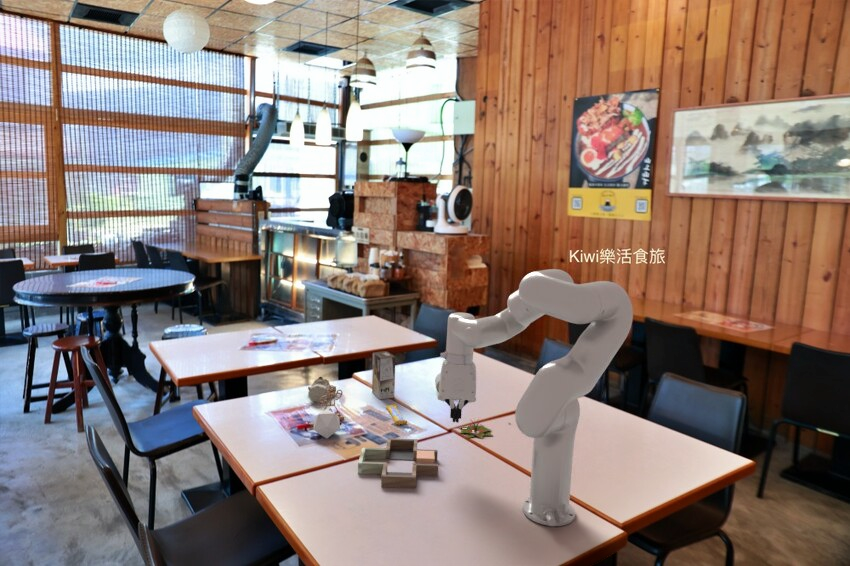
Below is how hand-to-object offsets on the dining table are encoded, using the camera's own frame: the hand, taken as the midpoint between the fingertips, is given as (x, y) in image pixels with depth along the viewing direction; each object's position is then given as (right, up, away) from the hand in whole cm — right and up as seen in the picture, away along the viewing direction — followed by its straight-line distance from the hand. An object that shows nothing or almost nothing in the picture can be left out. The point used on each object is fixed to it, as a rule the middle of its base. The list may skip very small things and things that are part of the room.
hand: (455, 420), depth 162 cm
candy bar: (-19, -8, +39) cm, 44 cm away
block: (-9, -14, +2) cm, 16 cm away
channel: (-16, -13, +2) cm, 21 cm away
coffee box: (-25, -5, +60) cm, 65 cm away
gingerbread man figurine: (-41, -8, +34) cm, 54 cm away
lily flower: (+8, -11, +28) cm, 31 cm away
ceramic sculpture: (-48, -5, +55) cm, 73 cm away
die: (-40, -10, +21) cm, 46 cm away
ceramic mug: (0, -5, +65) cm, 65 cm away
